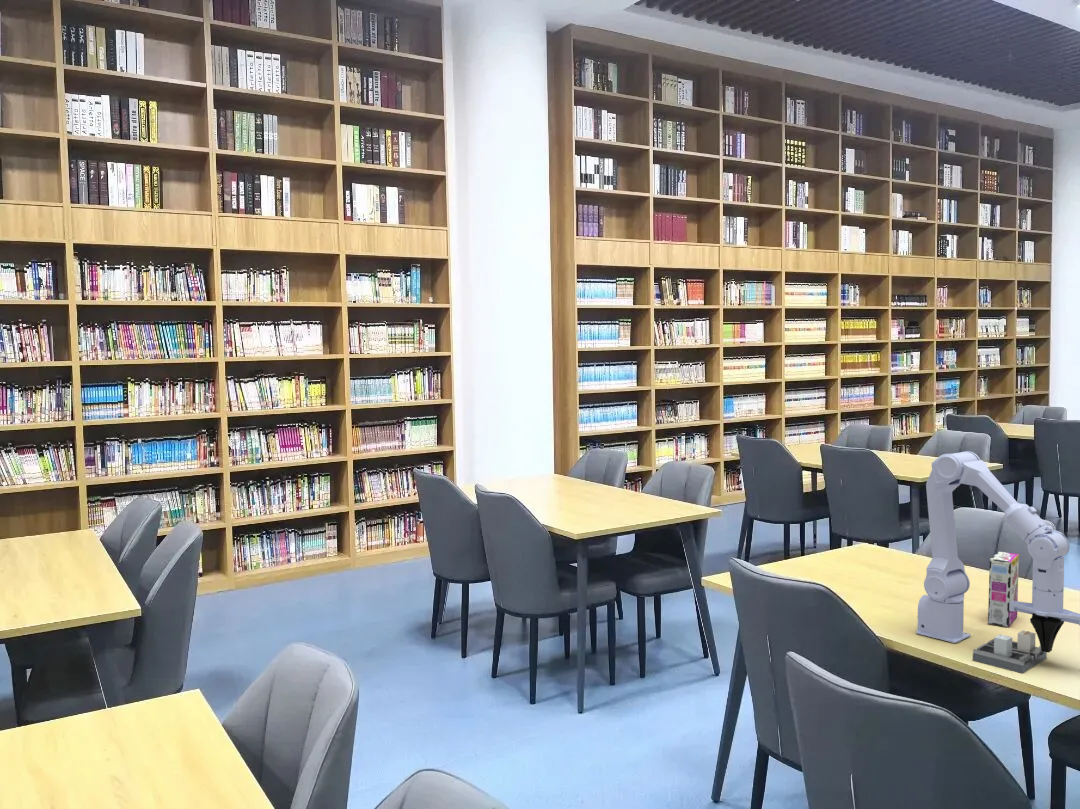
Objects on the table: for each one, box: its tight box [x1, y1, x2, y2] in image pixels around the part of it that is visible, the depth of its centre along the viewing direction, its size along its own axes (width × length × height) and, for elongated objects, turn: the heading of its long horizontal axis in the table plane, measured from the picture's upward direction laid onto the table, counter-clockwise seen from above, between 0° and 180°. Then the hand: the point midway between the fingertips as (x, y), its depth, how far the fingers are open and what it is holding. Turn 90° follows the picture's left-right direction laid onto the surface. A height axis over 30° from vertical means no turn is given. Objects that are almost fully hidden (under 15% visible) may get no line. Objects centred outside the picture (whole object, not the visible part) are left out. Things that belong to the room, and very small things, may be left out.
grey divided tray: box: [972, 638, 1048, 674], centre depth 180 cm, size 10×13×3 cm
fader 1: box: [993, 634, 1013, 657], centre depth 178 cm, size 2×3×4 cm
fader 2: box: [1016, 630, 1037, 652], centre depth 180 cm, size 2×3×4 cm
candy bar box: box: [987, 551, 1020, 628], centre depth 206 cm, size 11×5×16 cm, turn 141°
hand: (1046, 650), depth 177 cm, fingers closed
